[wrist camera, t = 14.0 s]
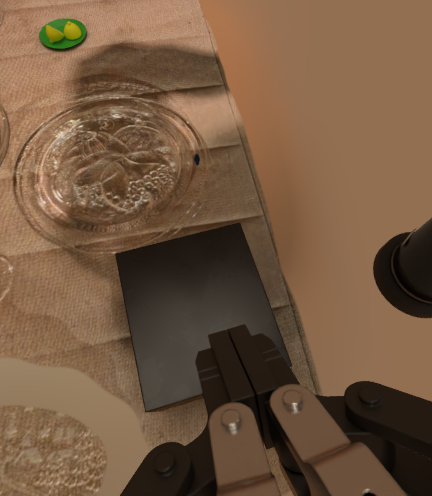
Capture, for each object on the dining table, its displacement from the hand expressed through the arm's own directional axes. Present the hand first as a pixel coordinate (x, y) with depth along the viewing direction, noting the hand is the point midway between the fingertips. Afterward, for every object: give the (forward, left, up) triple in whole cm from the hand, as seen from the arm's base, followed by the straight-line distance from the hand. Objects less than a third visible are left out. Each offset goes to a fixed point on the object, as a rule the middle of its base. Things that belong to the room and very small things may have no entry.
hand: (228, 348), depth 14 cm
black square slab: (+4, -5, -18) cm, 19 cm away
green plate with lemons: (+49, -40, -27) cm, 69 cm away
